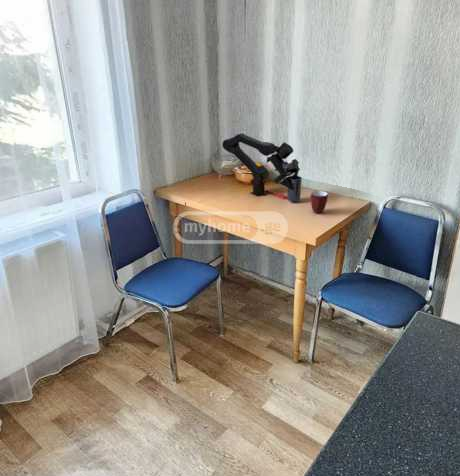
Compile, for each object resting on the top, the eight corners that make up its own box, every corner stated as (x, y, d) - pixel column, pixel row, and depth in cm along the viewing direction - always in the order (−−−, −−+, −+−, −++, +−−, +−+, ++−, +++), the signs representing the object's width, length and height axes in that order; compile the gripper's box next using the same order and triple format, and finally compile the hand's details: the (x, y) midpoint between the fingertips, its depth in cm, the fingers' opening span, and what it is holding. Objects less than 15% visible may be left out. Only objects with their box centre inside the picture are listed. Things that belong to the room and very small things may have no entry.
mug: (326, 217, 191) (328, 198, 187) (309, 216, 193) (311, 197, 188) (325, 209, 201) (327, 191, 197) (309, 208, 202) (310, 190, 198)
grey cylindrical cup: (285, 200, 210) (286, 178, 205) (289, 196, 215) (291, 174, 210) (297, 202, 207) (299, 180, 202) (301, 198, 213) (303, 176, 207)
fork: (264, 191, 227) (264, 190, 227) (268, 190, 229) (268, 188, 228) (283, 198, 215) (284, 197, 215) (287, 197, 217) (288, 196, 217)
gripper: (280, 159, 197) (299, 184, 195) (298, 151, 210) (315, 175, 209) (266, 171, 204) (284, 196, 203) (284, 163, 218) (300, 186, 217)
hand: (296, 187), depth 208 cm, fingers closed on grey cylindrical cup, 7 cm apart
